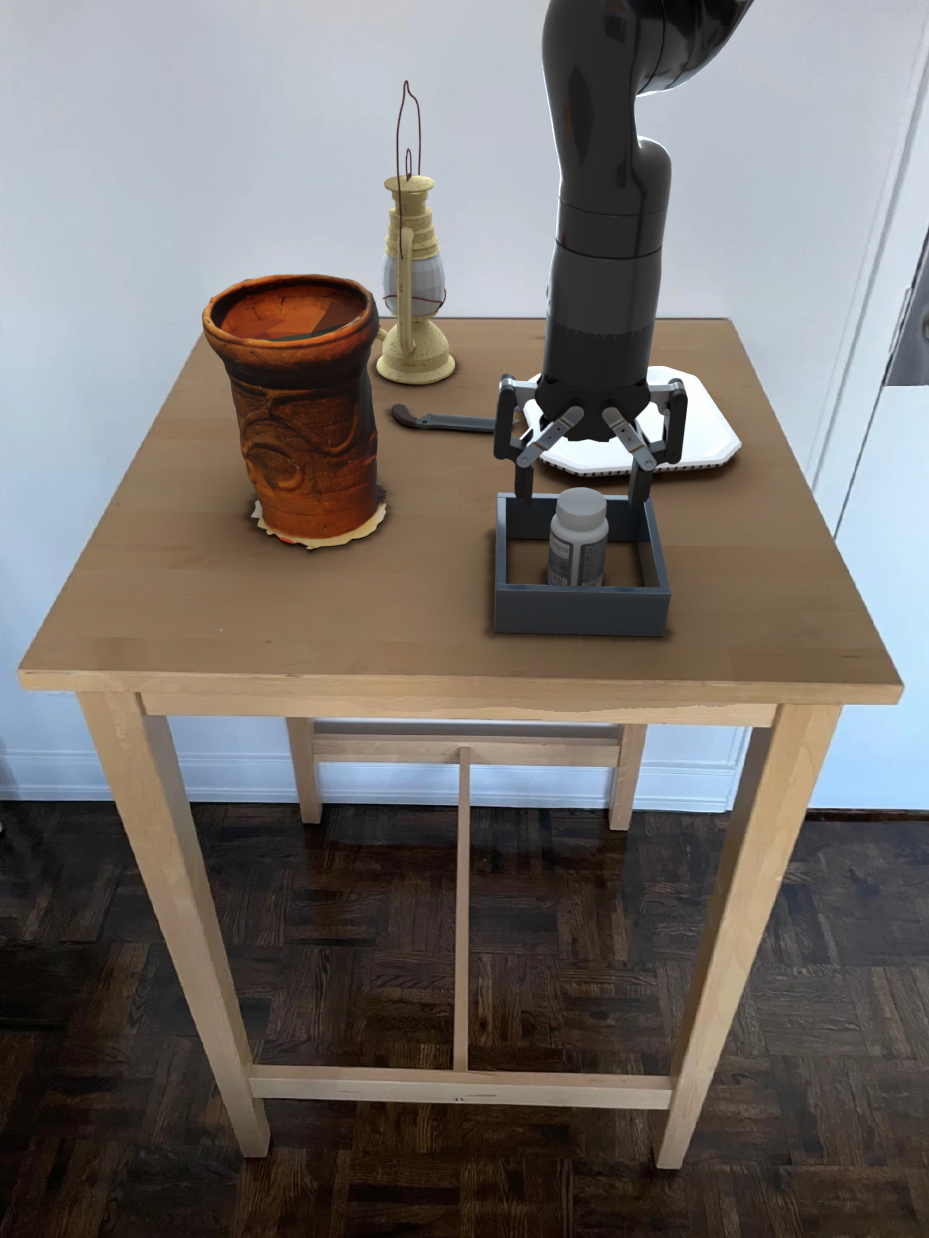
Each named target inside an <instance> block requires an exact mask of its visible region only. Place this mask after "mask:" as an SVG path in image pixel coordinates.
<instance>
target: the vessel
mask: <svg viewBox="0 0 929 1238" xmlns="http://www.w3.org/2000/svg"><path fill="white" fill-rule="evenodd" d="M201 321H202V329H203V333H204V337H205V339H206V341H207V343H208V345H209V346H210V348H211V349H212V350H213V352H214V353H215V354H216V355H217V356H218V358H220V360H221V361H222V362H223V366H224V369H225V372H226V374H227V376H228V378H229V381H230V392H231V396H232V400H233V405H234V408H235V413H236V414H235V415H236V419H237V420H236V421H237V425H238V429H239V445H240V451H241V457H242V458H243V459H244V462H245V469H246V473H247V477H248V479H249V481H250V483H251V485H252V486H253V488H254V491H255V494H256V497H257V500H256V501H255V502H254V505H255V509H254V511H253V513H252V514H251V516H250V518H255V519H258V522H257V527H259V528H260V529H263V530H266V532H265V533H266V534H267V535H268V536H269V535H270V536H271V535H274V534H275V535H276V536H277V538H279V540H281V541H283V542H286V543H290V544H292V545H293V544H297V543H299V544H302V545H305V546H307V547H306V549H308V550H312V549H317V548H320V547H330V546H331V547H333V546H341V545H345V544H347V543H348V542H350V541H352V539H360V538H363V537H367V536H369V535H370V534H371V533H373V532H374V531H376V530H377V528H378V527H377V526H378V525H379V524H380V523H381V522H382V521H383V520H384V518H385V515H386V513H387V510H386V507H387V504H386V502H385V500H386V497H383V496H385V495H386V494H387V493H388V491H387V490H386V489H384V488H383V486H382V484H381V481H377V480H378V460H377V459H378V458H377V456H378V445H379V444H378V441H379V439H378V438H379V437H378V435H379V432H378V428H377V425H376V417H375V409H374V401H373V388H372V382H371V377H370V374H369V372H368V363H369V360H370V357H371V354H372V346H373V344H374V342H375V340H376V336H377V333H378V328H379V325H380V315H379V311H378V307H377V302H376V300H375V298H374V294H373V292H371V291H370V290H368V289H367V288H366V287H365V286H364V285H363V284H361V283H360V282H359V281H357V280H354V279H351V278H345V277H344V278H343V277H339V276H333V275H329V274H322V273H321V274H320V273H305V274H301V273H299V274H296V273H295V274H293V273H292V274H290V273H289V274H285V273H284V274H271V275H263V276H259V277H255V278H245V279H243V280H241V281H239V282H236V283H234V284H231V285H230V286H228V287H227V288H226V289H224V290H222V291H221V292H220V293H218V294H216V295H214V296H212V297H210V300H209V302H208V304H207V305H205V307H204V309H203V311H202V314H201Z"/></svg>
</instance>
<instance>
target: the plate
mask: <svg viewBox="0 0 929 1238" xmlns="http://www.w3.org/2000/svg"><path fill="white" fill-rule="evenodd" d="M541 373H542V372H540V373H538V374H536V375H535V376H533V377H531V378H530V379H528V380H527V381H526V382H536V381H537V380H538V379H539V377H540V375H541ZM673 378H679V379H681V380H682V381H683V383H684V386H685V390H686V393H687V397H688V407H687V415H686V424H685V432H684V441H683V449H682V458H681V460H680V462H678V463H677V464H673V465H672V464H668V463H663V464H660V465H658V466H657V467H656V468H655V469H654V471H653V474H654V473H655V474H656V473H670V472H671V473H672V472H685V471H686V472H687V471H696V470H697V471H698V470H705V469H710V468H711V469H712V468H719V467H722V466H724V465H726V464H727V463H728V462H729V461H730V460H731V459H733V457H734V456H735V455H736V454H737V453H738V452H740V450H741V449H742V441H741V440H740V438H739V437H738V436H737V433H735V431H734V429H733V427H731V425H730V423H729V422H728V421H727V419H726V417H725V416H724V414H723V413H722V412H721V410H720V408H719V407H718V406H717V404H716V403H715V401H714V400H713V397H712V396H711V395H710V393H709V392H708V391H707V390H706V388H705V386H704V385H703V383H702V382H701V380H700V379H699V377H697V376H695V375H693V374H689V373H687V372H684V371H681V370H677V369H674V368H672V367H668V366H664V365H656V366H655V365H654V366H648V371H647V383H648V385H667V384H668V382H669V381H670V380H671V379H673ZM522 412H523V415H524V418H525V421H526V423H527V427H528V429H529V428H530V427H531V426H532V424H533V422H534V420H535V418H536V417H537V416H538V415H539V414H540V413H541V412H542V410H541V409H540V408H539V406H538V405H537V403H536V401H535V399H532V400H529V401H528V402H527V403H526V404H525V407H524V409H523V410H522ZM636 419H637V421H638V422H639V424H640V427H641V429H642V430H643V432H644V433H645V435H646V436H647V437H648V439H649V440H650V442H651V443H652V442H656V441H660V440H662V432H663V422H664V415H661V414H660V413H659V412H658V409H657V405H656V404H655V403H653V402H650V403H649V405H648V406H647V407H646V408H645V409H644V410H643V411H642V412H641V413H640V414H639V415H638V416H637V417H636ZM538 458H539V460H540V461H541V462H542V463H543V464H546V465H548V466H552V468H553V467H554V468H556V469H558V470H561V471H563V472H567V473H569V474H572V475H574V476H577V477H578V476H579V477H585V478H598V477H611V476H627V475H631V469H632V462H633V455H632V454H631V453H629V452H628V451H627V450H626V448H625V447H624V445H623V444H622V443H621V441H620V440H619V438H618V437H615V438H612V439H609V442H597V441H593V440H583V441H578V442H575V441H568V439H567V438H565V437H563V436H562V437H561V438H560V439H559V440H558V441H557V442H556V443H555V444H554V445H553V446H552V447H551V448H550V449H549V450H548V451H544V452H543V453H542V454H541V455H540V456H539V457H538Z"/></svg>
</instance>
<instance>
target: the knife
mask: <svg viewBox="0 0 929 1238" xmlns="http://www.w3.org/2000/svg"><path fill="white" fill-rule="evenodd" d="M390 412H391V414H392V415H393V417H394V418H395V419H396V420H397V421H398V422H400V423H401V424H402V425H405V426H408V427H412V428H416V427H418V428H424V429H425V428H426V429H428V428H429V429H430V428H431V429H432V428H434V429H435V428H437V429H439V428H440V429H452V430H463V431H464V430H465V431H476V432H489V433H490V432H491V433H494V427H495V418H496V417H495V418H493V417H483V416H470V415H457V414H446V413H445V414H444V413H432V412H428V413H426V415H425V417H422V418H418V417H416V416H412V415H411V414H410V413H409V409H408V407H407V406H406V405H405V404H402V403H394V404H393V405H392V407H391V409H390ZM519 422H520V419H513V425H515V424H517V423H519Z"/></svg>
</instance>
